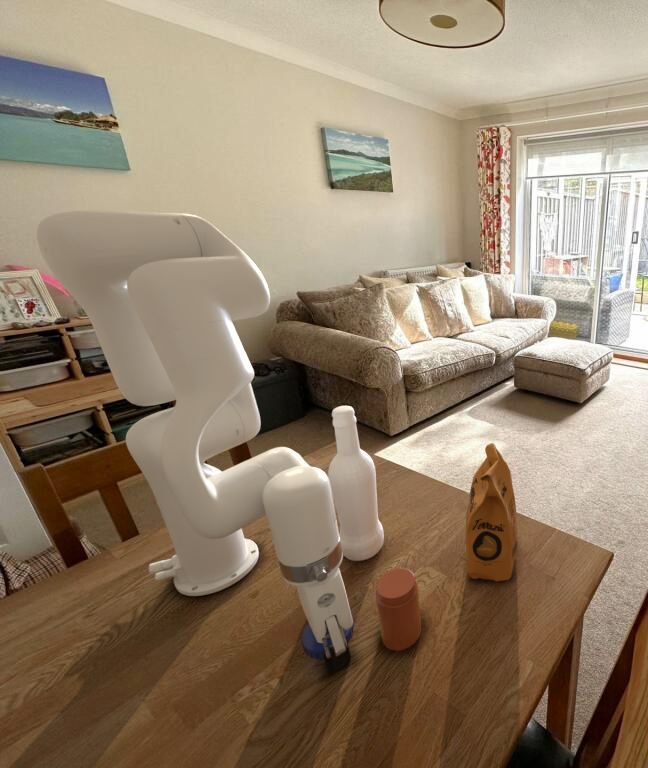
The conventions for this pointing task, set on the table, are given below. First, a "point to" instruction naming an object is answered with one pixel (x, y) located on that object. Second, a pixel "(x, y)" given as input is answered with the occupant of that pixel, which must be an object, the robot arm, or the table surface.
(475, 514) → the coffee package
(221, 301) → the robot arm
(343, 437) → the bottle
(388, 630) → the jar
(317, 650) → the lid
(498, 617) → the table surface
